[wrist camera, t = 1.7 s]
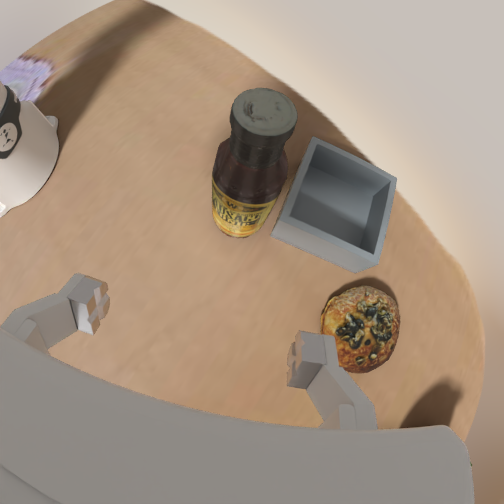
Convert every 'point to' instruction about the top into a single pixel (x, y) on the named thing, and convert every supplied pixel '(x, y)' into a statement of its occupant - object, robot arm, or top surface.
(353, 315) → the bread roll
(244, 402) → the top surface
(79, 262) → the top surface
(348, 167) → the bin
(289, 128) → the sauce bottle
